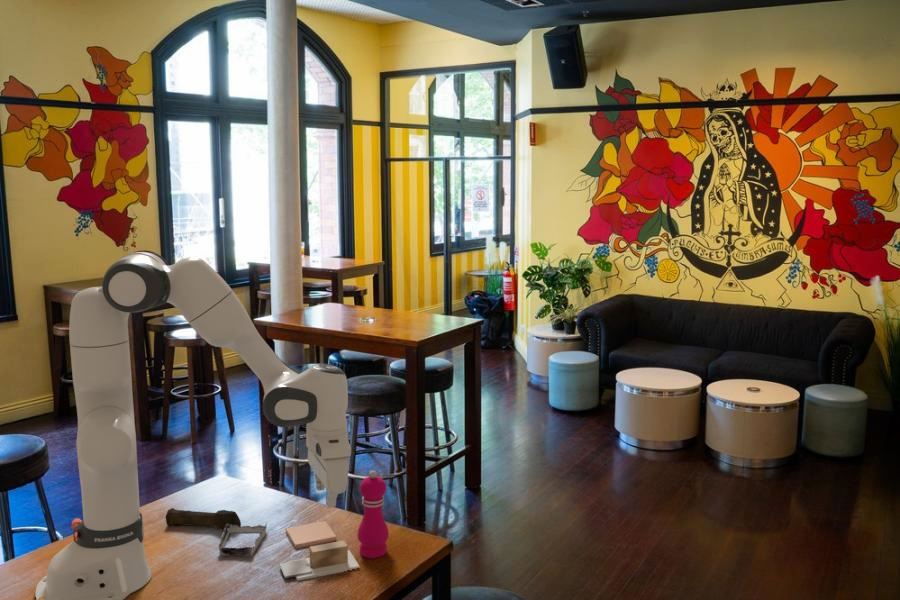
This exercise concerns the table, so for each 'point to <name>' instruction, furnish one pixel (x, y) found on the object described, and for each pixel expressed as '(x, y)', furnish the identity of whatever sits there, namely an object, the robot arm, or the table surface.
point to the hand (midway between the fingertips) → (325, 497)
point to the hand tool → (203, 518)
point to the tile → (310, 534)
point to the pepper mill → (373, 518)
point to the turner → (317, 559)
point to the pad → (330, 568)
